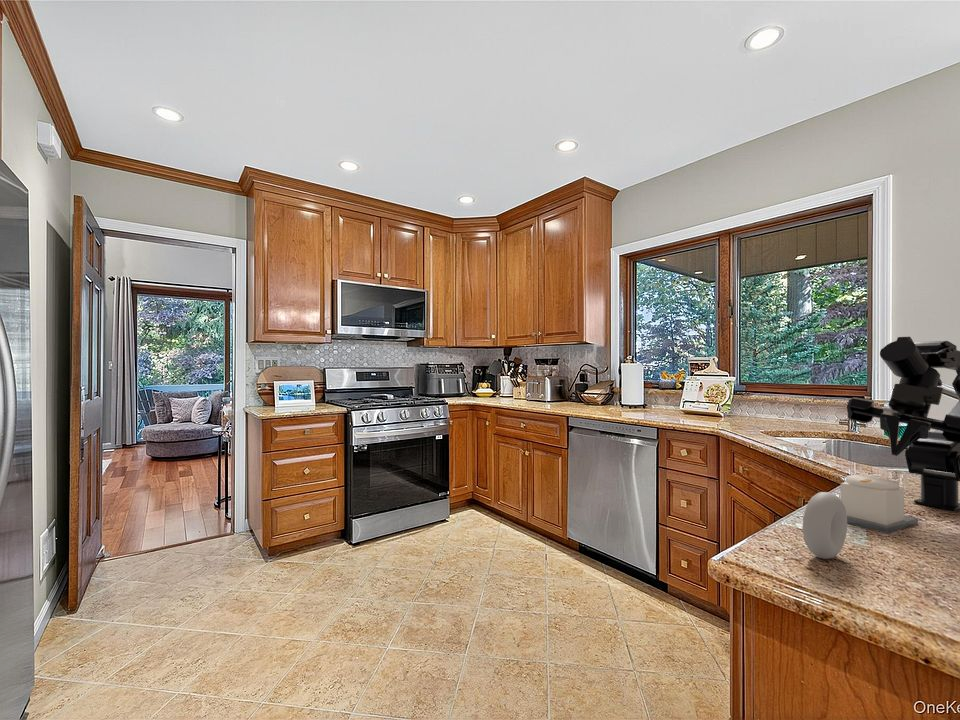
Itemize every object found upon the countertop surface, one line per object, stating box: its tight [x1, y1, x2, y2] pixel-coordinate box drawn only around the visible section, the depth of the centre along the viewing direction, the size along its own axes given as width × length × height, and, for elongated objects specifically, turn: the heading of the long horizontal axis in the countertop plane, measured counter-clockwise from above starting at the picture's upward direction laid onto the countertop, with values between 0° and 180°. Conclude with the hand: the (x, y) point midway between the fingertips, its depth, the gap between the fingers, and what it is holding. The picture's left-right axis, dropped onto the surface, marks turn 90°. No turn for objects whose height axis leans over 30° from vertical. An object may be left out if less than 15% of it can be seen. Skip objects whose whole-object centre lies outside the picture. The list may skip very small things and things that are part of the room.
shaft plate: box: [847, 514, 919, 534], centre depth 87 cm, size 12×10×7 cm
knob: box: [840, 474, 905, 525], centre depth 86 cm, size 8×8×7 cm
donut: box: [802, 491, 848, 560], centre depth 70 cm, size 10×3×10 cm, turn 124°
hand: (894, 454), depth 90 cm, fingers closed
